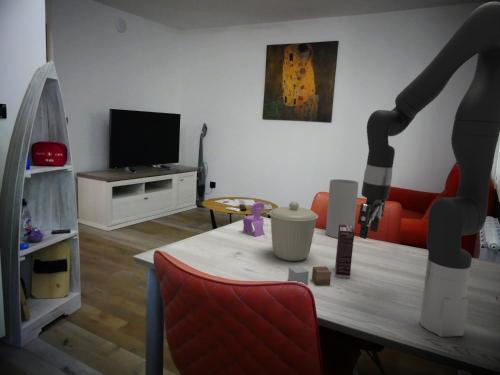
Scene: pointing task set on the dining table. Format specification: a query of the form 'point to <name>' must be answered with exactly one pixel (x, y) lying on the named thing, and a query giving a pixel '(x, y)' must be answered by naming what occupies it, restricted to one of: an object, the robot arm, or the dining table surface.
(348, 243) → the supplement box
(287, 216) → the canister
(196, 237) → the dining table surface
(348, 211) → the cylinder vase
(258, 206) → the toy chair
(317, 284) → the walnut cube
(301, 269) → the slate cube
